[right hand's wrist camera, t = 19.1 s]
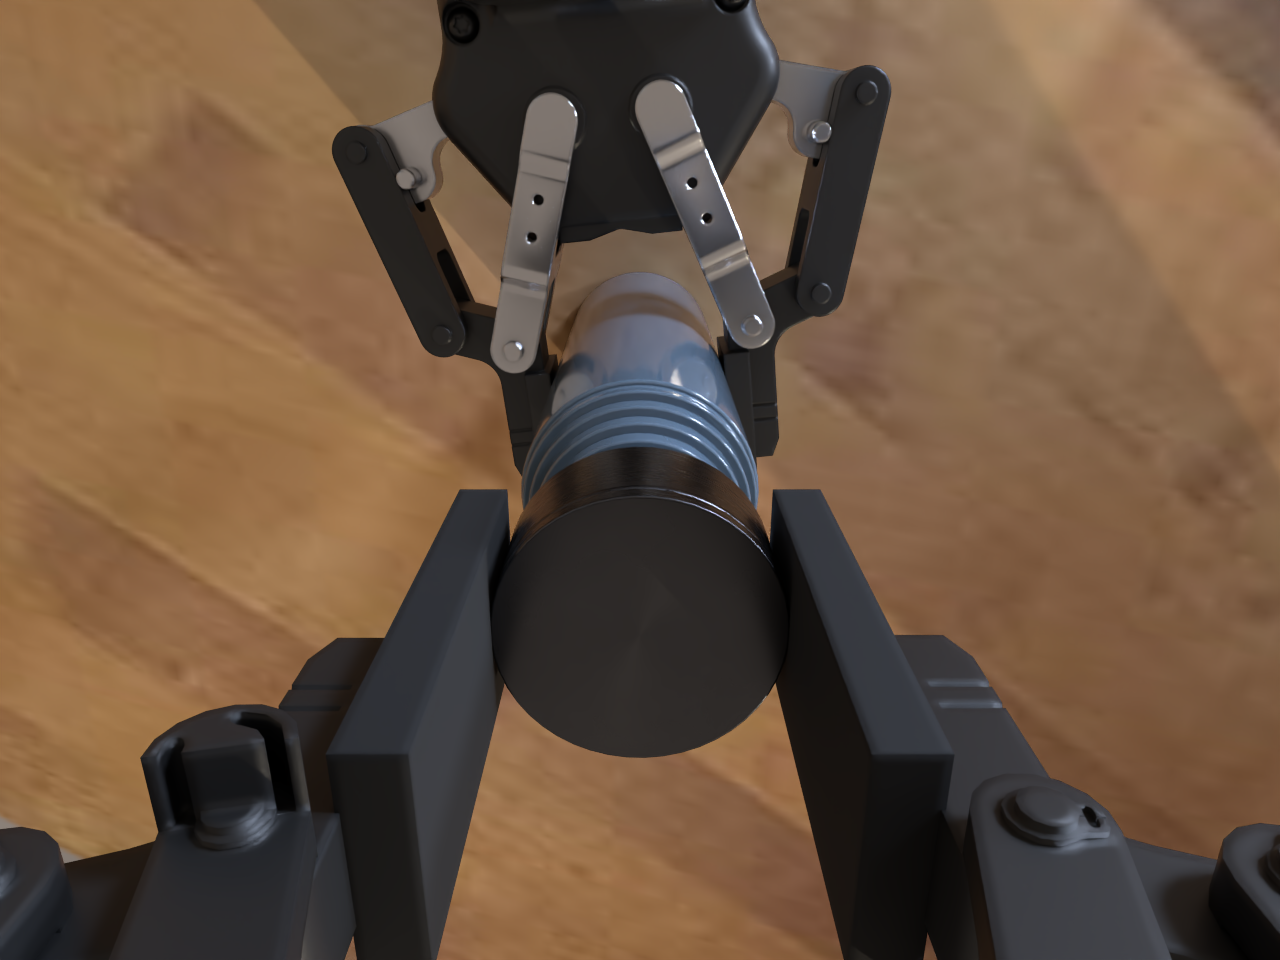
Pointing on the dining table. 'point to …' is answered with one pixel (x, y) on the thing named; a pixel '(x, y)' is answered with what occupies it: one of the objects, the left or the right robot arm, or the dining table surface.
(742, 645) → the cap
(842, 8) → the dining table surface
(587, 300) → the bottle
